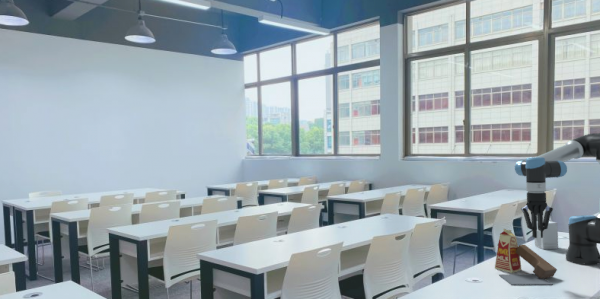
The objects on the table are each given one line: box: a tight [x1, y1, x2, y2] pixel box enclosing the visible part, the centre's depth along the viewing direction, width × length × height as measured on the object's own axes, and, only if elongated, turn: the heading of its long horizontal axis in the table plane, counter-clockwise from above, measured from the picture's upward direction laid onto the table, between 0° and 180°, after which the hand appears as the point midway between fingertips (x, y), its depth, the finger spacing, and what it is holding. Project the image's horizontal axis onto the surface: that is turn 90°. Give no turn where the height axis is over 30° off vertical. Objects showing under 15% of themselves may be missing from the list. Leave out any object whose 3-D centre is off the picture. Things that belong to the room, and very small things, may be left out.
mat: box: [498, 273, 554, 286], centre depth 188 cm, size 17×14×1 cm
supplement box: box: [534, 220, 559, 250], centre depth 245 cm, size 9×9×15 cm
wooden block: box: [516, 244, 558, 279], centre depth 195 cm, size 9×4×18 cm
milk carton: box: [494, 228, 522, 274], centre depth 205 cm, size 9×9×20 cm
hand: (537, 245), depth 187 cm, fingers closed
